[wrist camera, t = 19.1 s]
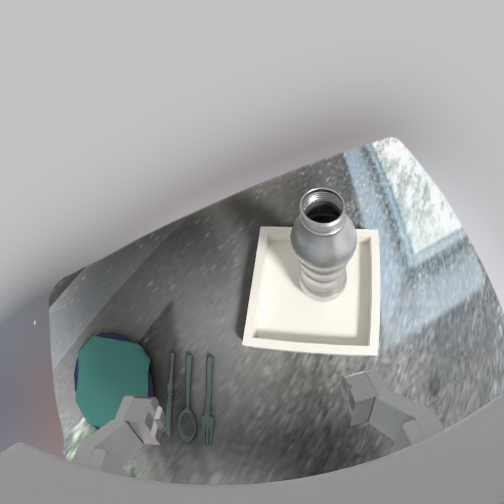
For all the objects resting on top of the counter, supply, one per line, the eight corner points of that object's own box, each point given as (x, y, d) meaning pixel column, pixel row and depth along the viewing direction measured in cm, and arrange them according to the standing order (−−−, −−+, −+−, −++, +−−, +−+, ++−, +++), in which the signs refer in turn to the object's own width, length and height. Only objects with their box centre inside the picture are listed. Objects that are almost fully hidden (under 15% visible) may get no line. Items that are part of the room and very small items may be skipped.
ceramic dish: (373, 356, 33) (377, 355, 30) (247, 346, 38) (242, 345, 35) (375, 239, 40) (378, 229, 37) (264, 235, 45) (260, 226, 42)
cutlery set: (85, 328, 46) (77, 326, 44) (220, 345, 40) (215, 343, 38) (79, 419, 38) (71, 419, 36) (214, 463, 32) (209, 468, 30)
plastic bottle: (315, 255, 40) (306, 163, 23) (353, 277, 37) (376, 194, 20) (291, 290, 39) (264, 217, 21) (330, 314, 36) (340, 258, 19)
